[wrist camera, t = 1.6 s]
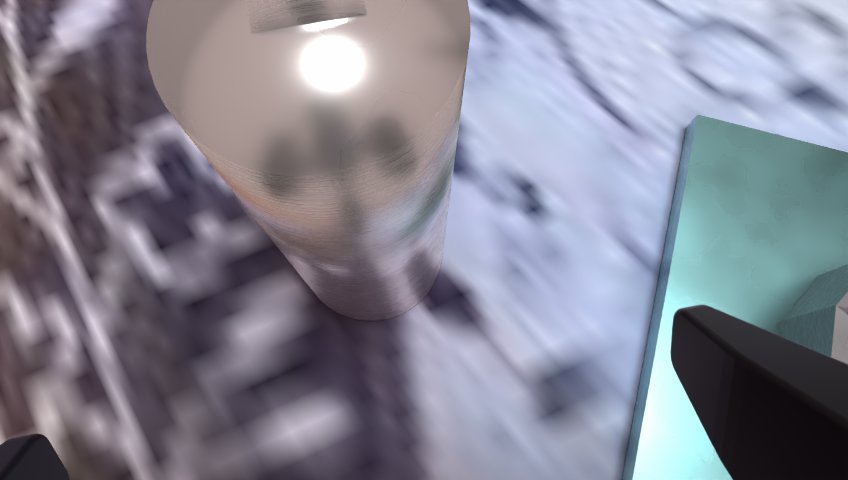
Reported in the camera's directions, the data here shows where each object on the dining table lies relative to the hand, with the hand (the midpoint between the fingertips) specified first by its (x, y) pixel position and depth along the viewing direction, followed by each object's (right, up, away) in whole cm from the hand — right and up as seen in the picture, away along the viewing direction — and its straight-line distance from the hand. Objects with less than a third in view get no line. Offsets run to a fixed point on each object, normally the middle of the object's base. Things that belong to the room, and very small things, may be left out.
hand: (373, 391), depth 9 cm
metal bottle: (-1, +3, +14) cm, 14 cm away
